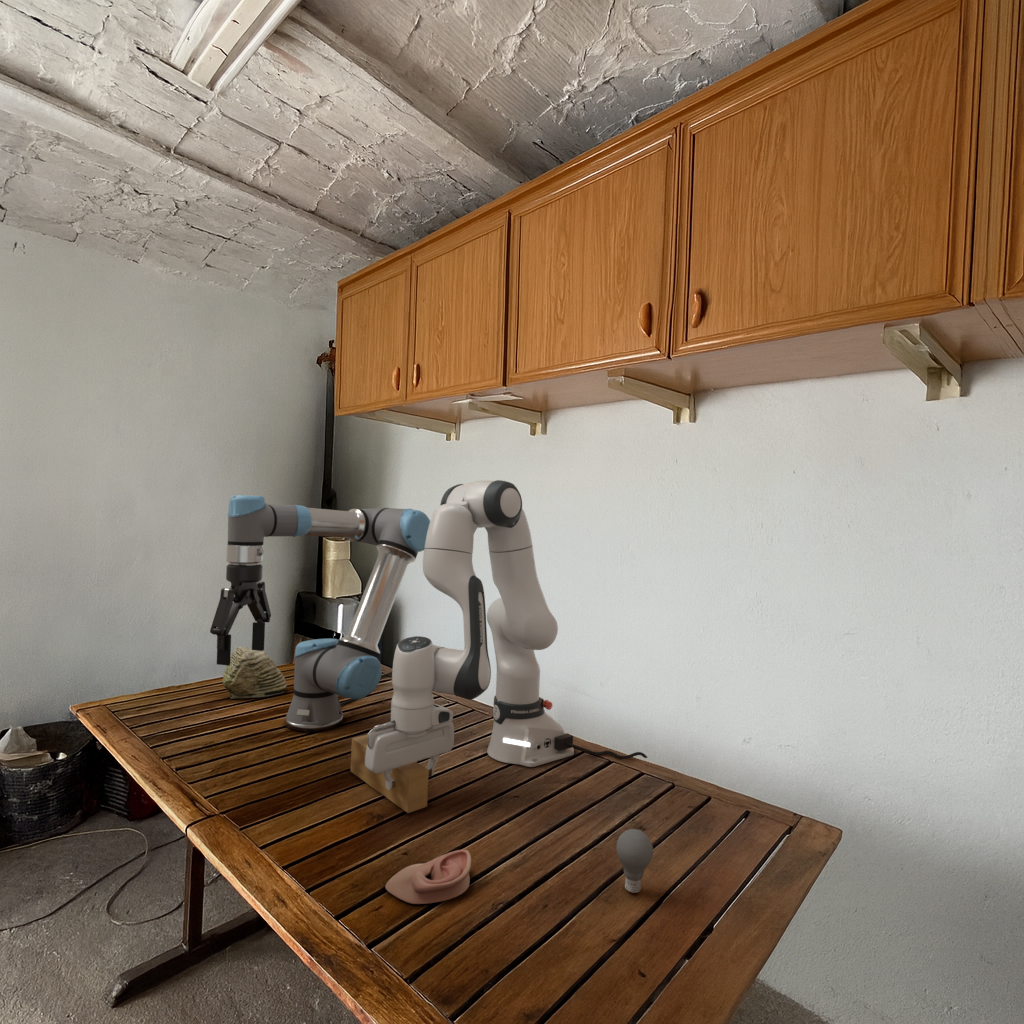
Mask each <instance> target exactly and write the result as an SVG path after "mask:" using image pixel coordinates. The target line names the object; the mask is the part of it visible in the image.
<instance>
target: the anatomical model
mask: <svg viewBox="0 0 1024 1024" xmlns="http://www.w3.org/2000/svg"><path fill="white" fill-rule="evenodd" d="M471 868H472V856H471V853H470V852H469V850H467V849H457V850H454V851H451V852H450V851H449V852H447V853H445V854H442V855H440V856H437V857H436V858H434V859H431V860H429V861H427V862H424V863H414V864H411V865H408V866H406V867H404V868H402V869H400V870H399V871H398V872H396V873H395V874H394V875H393V876H391V877H390V879H388V880H387V882H386V884H385V890H386V891H387V892H388V893H389V894H390V895H392V896H393V897H395V898H397V899H399V900H401V901H403V902H405V903H407V904H410V905H411V904H412V905H426V904H433V903H439V902H444V901H447V900H451V899H454V898H456V897H459V896H460V895H462V894H463V893H465V892H466V891H467V890H468V889H469V887H470V883H471V881H470V880H471V878H470V871H471Z"/></svg>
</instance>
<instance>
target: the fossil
mask: <svg viewBox="0 0 1024 1024" xmlns="http://www.w3.org/2000/svg"><path fill="white" fill-rule="evenodd" d="M222 676H223V677H222V685H223V687H224V688H225V690H226V691H228V693H229V698H230V699H250V698H264V697H271V696H275V695H281V694H284V693H285V691H286V689H287V687H288V686H287V680H286V678H285V676H284V674H283V673H282V672H281V669H279V668H278V667H277V665H276V663H275V662H274V660H273V659H272V658H271V657H270V656H269V655H268V654H267V653H266V652H265V649H264V650H263V651H257V650H252V648H251V647H247V646H246V647H245V646H238V647H237V648H236V649H235V650H233V651H232V652H231V656H230V665H225V668H224V671H223V675H222Z"/></svg>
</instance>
